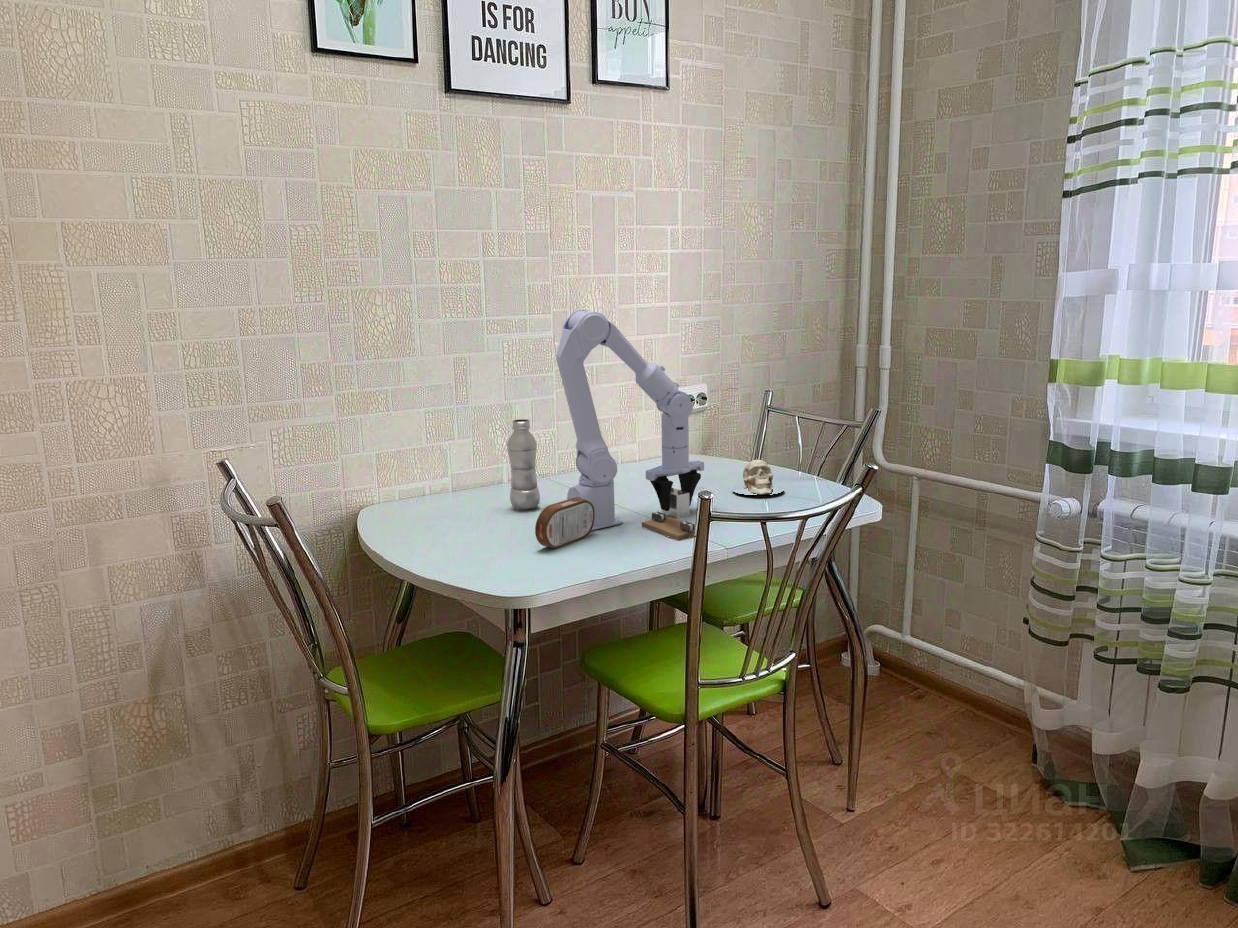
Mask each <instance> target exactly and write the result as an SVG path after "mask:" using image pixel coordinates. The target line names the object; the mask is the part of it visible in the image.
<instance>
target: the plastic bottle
mask: <svg viewBox="0 0 1238 928" xmlns="http://www.w3.org/2000/svg"><path fill="white" fill-rule="evenodd" d="M530 423H531V422H530V419H527V418H521V419H520V418H518V419H513V420H512V427H511V429H512V431H513V432H512V433H511V435H510V436H509V438H508V439H507V443H506V447H507V448H506V449H507V453H508V459H509V464H510V465H509V466H510V473H511V481H510V483H511V486H510V491H509V501H510V504H511V506H512V507H513V508H514V509H516V510H517V509H518V510H525V511H527V510H531V509H535V508H537V507H538V506H539V504H540V501H541V500H540V499H541V496H540V490H539V487H538V479H537V473H536V471H537V469H536V466H537V465H536V460H537V449H538V448H537V446H538V444H537V441H536V438H535V436H534V435H533V434H532V433H531V431H530V429H531V424H530Z"/></svg>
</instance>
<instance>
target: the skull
mask: <svg viewBox="0 0 1238 928" xmlns="http://www.w3.org/2000/svg"><path fill="white" fill-rule="evenodd" d="M742 478H743V484H744V486H745V488H748V491H749V492H751V493H753V494H757V495H770V494H772V492H773V489H772V487H773V479H774V474H773V472H772V471H771V467H770V466H769V464H768V463H767V461H765V460H762V459H753V460H751V461H750V462H748V463H747V464H746V465H745V466H744V469H743V472H742Z"/></svg>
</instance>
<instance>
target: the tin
mask: <svg viewBox="0 0 1238 928" xmlns="http://www.w3.org/2000/svg"><path fill="white" fill-rule="evenodd" d="M594 517H595V512H594V506H593V505H592V503H591V502H589V501H587V500H585V499H582V498H580V497H574V498H571V499H568V500H567V499H565V500H562V501H558V502H556V503H551V504H548V505H547V506H545V507H544V508H543V509H542V510H541V511H540V513H539V515H538V516H537V519H536V521H535V527H534V533H535V538H536V541H537V542H538V543H539V544H540V545H542V546H543V547H548V548H550V549H558V548H562V547H564V546H567V545H569V544H572V543H575V542H578V541H581V540H583V539H585V538H587V536H588V535H589V534H590V533H591V532H592V531H593V530H592V528H593V525H594Z"/></svg>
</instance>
